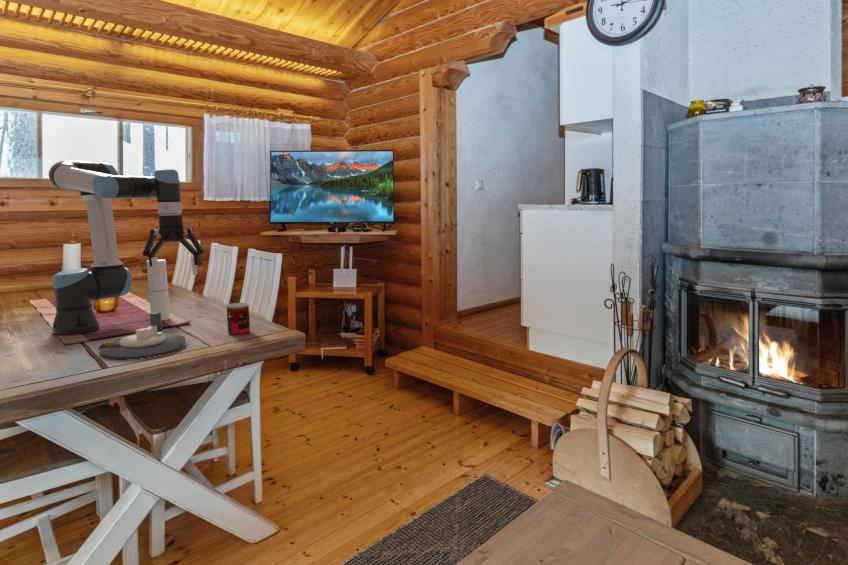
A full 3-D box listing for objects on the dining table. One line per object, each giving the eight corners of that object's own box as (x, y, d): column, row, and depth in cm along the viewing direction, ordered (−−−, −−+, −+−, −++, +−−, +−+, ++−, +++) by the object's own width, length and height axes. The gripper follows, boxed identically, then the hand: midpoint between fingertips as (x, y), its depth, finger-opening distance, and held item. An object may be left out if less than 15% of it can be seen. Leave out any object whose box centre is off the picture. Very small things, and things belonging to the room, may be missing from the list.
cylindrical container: (162, 321, 220) (158, 261, 216) (147, 320, 221) (142, 261, 217) (174, 317, 227) (169, 259, 223) (159, 317, 228) (154, 259, 224)
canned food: (231, 330, 205) (229, 302, 203) (252, 330, 206) (250, 302, 204) (225, 335, 198) (223, 306, 196) (247, 335, 198) (245, 306, 197)
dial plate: (82, 360, 168) (81, 353, 167) (125, 338, 193) (124, 332, 193) (165, 359, 169) (165, 352, 168) (197, 338, 194) (196, 331, 194)
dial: (154, 347, 174) (152, 324, 173) (111, 347, 174) (108, 324, 172) (178, 332, 193) (177, 312, 191) (139, 333, 192) (137, 312, 191)
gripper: (128, 215, 181) (134, 277, 184) (202, 214, 182) (207, 275, 185) (138, 215, 188) (144, 274, 191) (210, 213, 189) (215, 272, 192)
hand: (175, 275), depth 188 cm, fingers open, 13 cm apart
